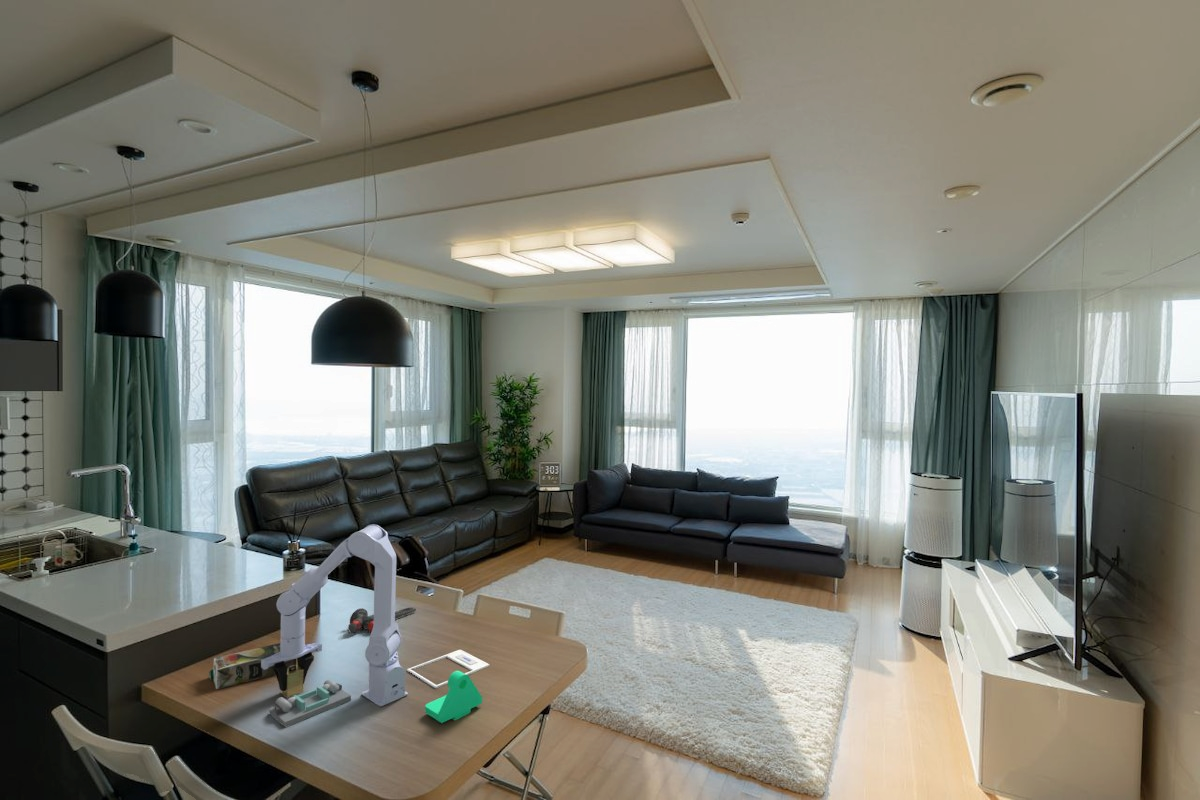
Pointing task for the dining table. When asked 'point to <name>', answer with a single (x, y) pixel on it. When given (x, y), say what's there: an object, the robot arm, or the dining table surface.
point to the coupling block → (294, 680)
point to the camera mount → (455, 699)
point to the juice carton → (243, 666)
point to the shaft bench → (309, 703)
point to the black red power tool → (369, 619)
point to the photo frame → (458, 657)
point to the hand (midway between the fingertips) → (291, 686)
